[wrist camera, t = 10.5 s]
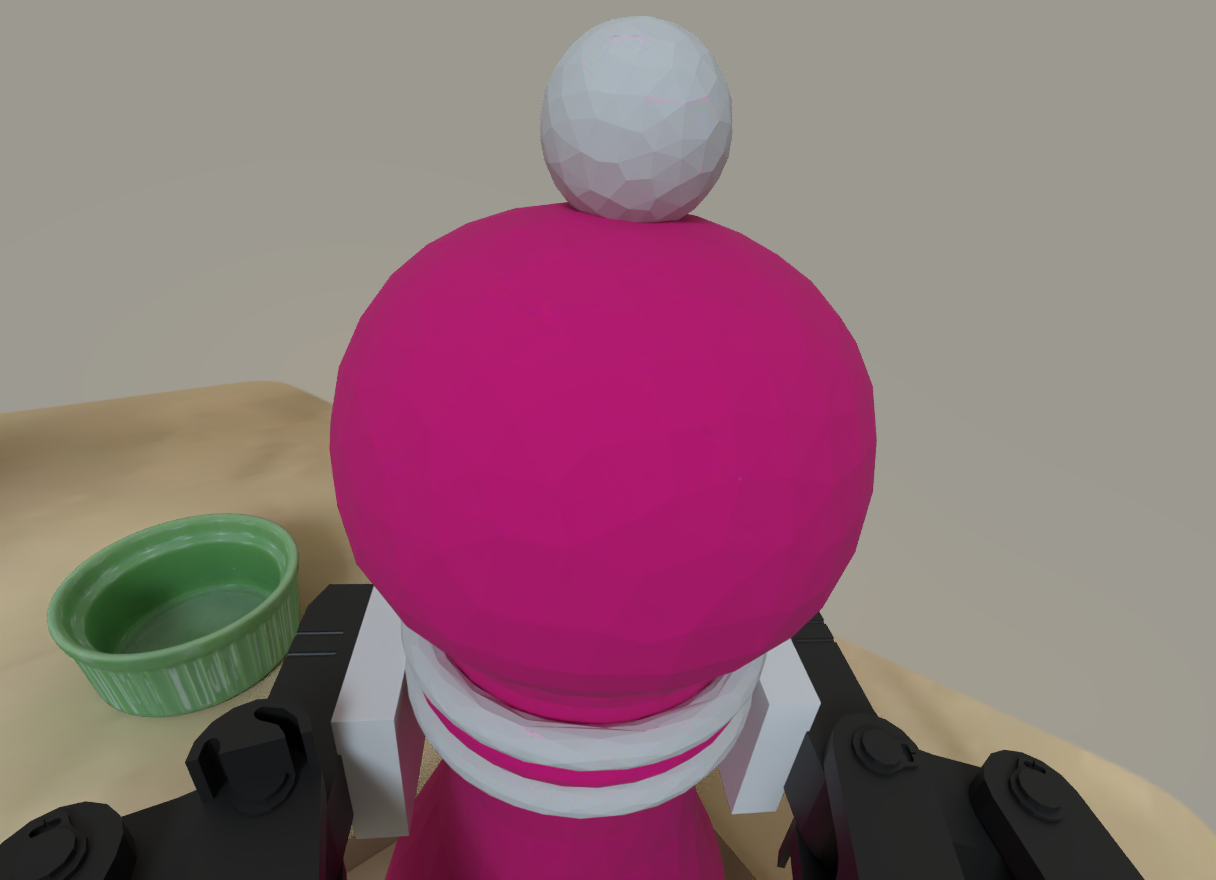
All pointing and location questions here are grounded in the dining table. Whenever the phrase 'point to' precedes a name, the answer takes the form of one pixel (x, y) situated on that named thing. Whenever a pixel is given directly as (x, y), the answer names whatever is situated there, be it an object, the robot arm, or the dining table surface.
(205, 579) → the ramekin
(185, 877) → the robot arm
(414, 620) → the pepper mill
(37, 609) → the dining table surface
